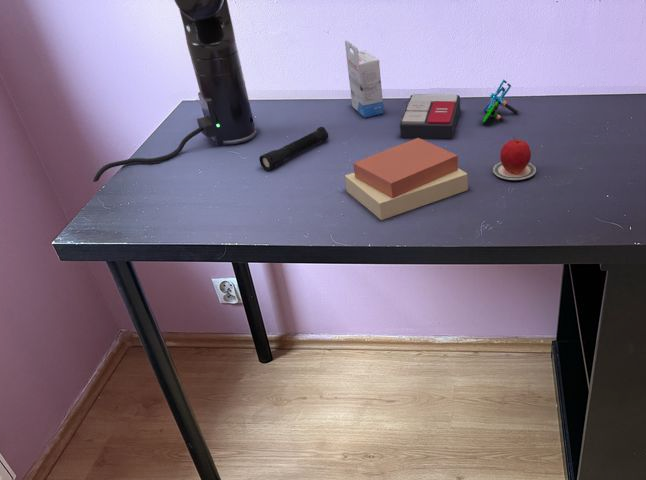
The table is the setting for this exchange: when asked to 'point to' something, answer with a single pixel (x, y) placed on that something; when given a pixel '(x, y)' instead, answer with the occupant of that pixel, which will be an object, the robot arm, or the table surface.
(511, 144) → the apple
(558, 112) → the table surface
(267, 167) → the flashlight
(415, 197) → the book stack
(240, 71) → the robot arm
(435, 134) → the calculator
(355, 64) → the ink box
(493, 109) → the stick construction toy
